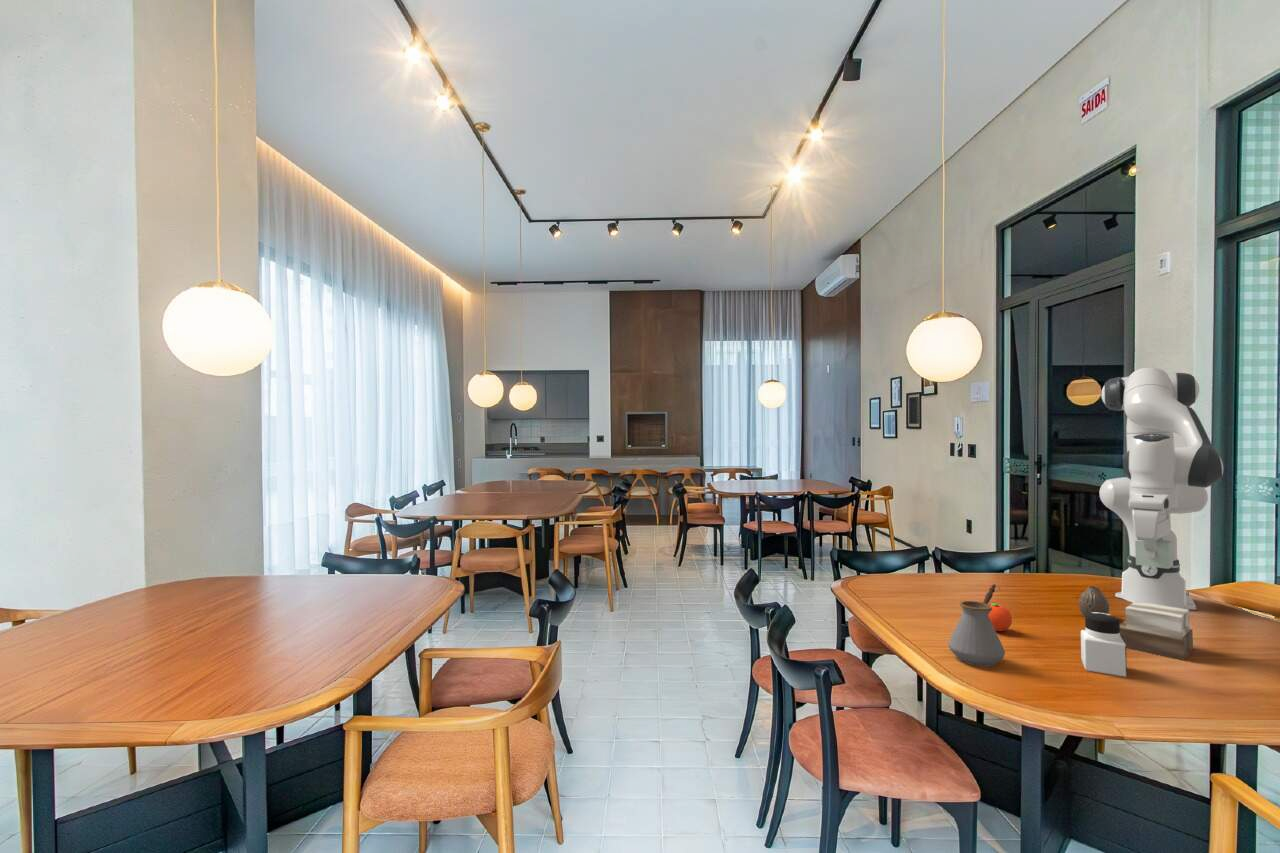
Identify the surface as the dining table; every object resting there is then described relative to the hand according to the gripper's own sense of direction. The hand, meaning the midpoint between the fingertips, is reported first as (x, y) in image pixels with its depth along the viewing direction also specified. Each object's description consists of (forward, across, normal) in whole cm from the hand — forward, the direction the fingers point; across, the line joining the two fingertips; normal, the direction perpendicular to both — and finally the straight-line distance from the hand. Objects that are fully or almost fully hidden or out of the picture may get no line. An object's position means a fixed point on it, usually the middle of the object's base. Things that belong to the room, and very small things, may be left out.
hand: (1154, 555), depth 140 cm
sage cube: (+2, 0, 0) cm, 2 cm away
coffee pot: (+23, +38, -25) cm, 51 cm away
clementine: (+23, +16, -30) cm, 41 cm away
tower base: (+23, 0, 0) cm, 23 cm away
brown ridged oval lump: (+23, -17, -16) cm, 33 cm away
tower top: (+18, 0, 0) cm, 18 cm away
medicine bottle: (+23, +26, -5) cm, 35 cm away
